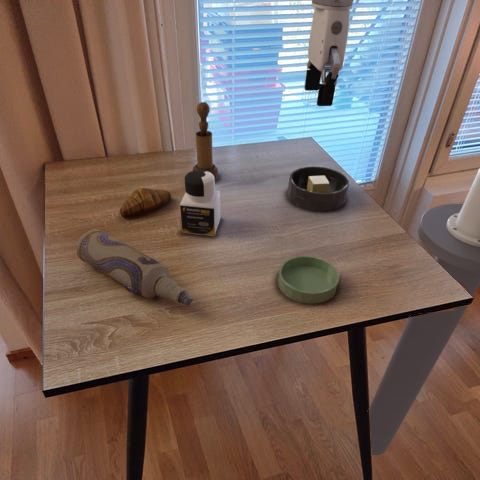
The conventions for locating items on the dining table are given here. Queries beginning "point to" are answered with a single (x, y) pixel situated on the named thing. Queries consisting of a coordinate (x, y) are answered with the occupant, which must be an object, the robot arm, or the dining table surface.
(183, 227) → the medicine bottle
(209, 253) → the dining table surface
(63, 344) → the dining table surface
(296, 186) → the bowl
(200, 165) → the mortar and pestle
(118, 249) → the decorative bottle
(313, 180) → the yellow cube
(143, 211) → the croissant
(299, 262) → the dish
